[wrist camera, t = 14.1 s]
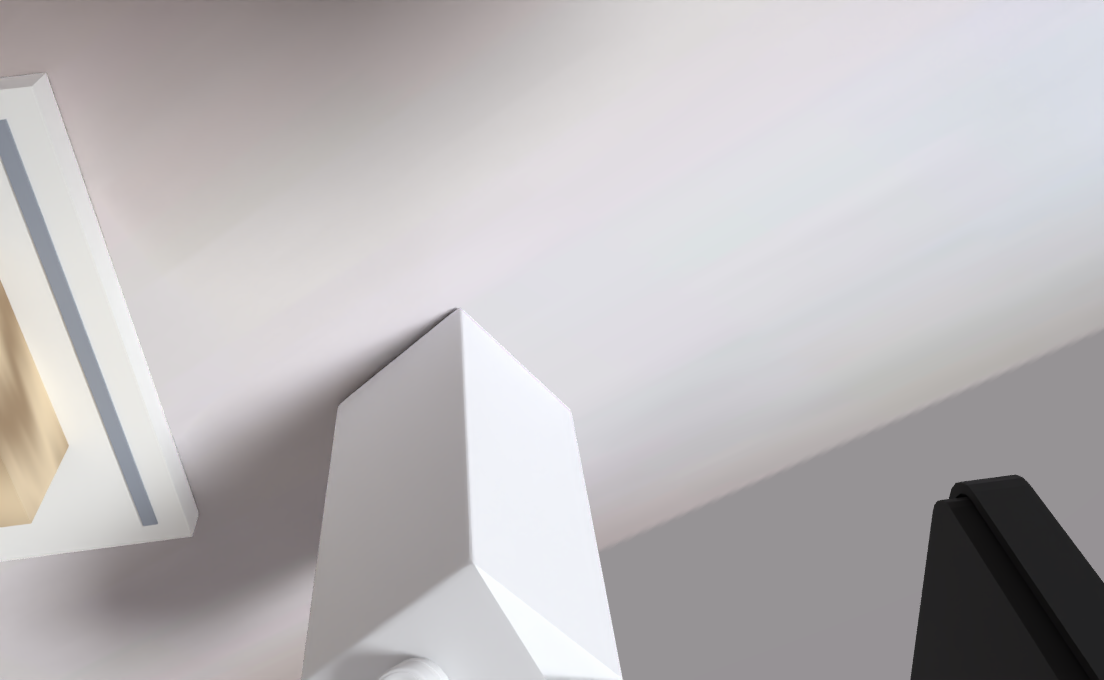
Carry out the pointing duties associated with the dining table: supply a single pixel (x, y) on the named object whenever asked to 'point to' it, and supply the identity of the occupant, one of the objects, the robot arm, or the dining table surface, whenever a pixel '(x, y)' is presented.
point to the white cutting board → (80, 348)
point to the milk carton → (457, 527)
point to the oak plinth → (24, 426)
